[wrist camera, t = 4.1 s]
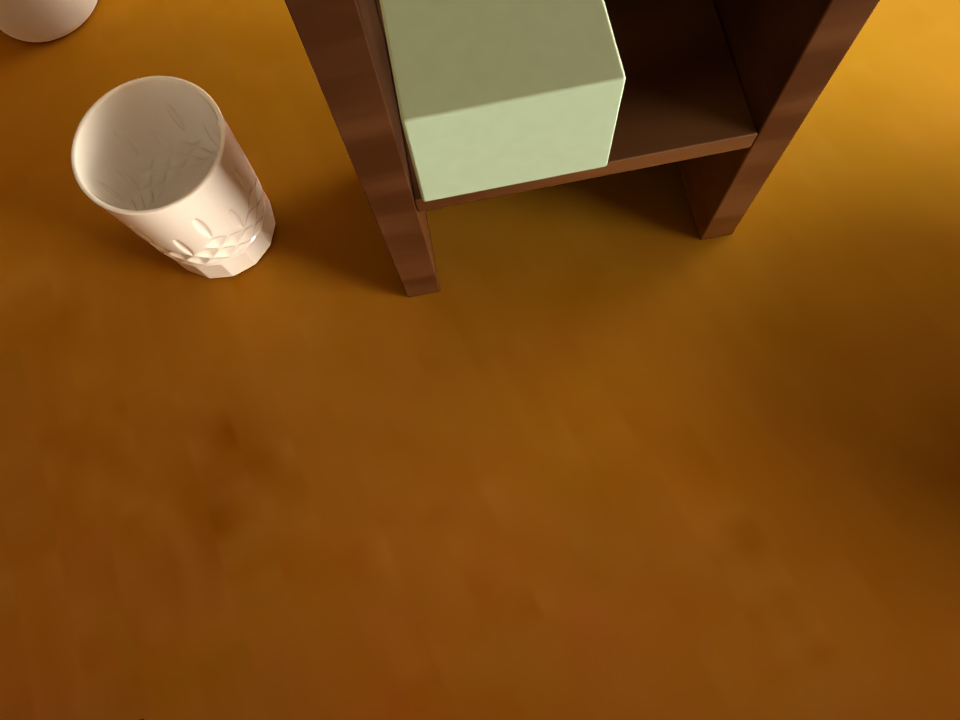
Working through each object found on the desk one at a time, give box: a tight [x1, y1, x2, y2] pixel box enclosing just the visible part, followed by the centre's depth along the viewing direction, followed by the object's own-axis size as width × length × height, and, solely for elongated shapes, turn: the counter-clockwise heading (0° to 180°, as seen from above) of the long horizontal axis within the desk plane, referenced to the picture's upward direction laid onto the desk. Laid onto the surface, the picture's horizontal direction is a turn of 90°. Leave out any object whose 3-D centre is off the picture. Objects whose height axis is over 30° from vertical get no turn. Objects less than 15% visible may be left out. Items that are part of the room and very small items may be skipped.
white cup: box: [71, 76, 276, 278], centre depth 42 cm, size 8×8×10 cm
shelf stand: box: [285, 0, 880, 297], centre depth 33 cm, size 10×20×28 cm, turn 101°
